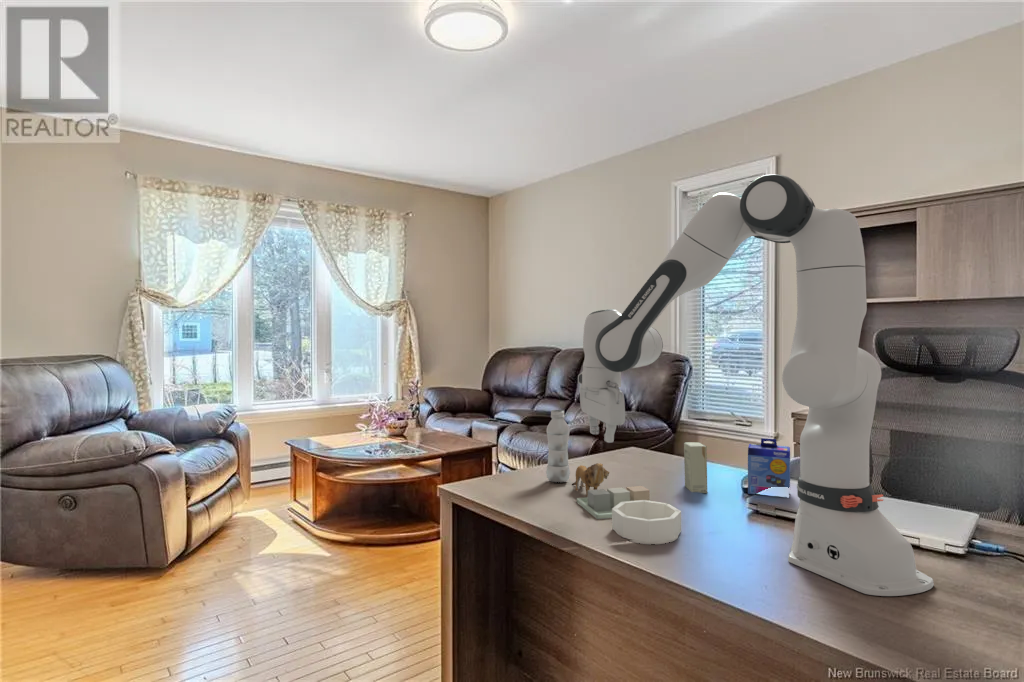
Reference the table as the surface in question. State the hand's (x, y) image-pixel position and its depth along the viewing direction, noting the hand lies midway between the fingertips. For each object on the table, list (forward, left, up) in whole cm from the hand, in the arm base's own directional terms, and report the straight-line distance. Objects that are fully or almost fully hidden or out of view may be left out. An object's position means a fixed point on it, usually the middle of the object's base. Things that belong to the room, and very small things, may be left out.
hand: (601, 437), depth 133 cm
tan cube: (0, -9, -17) cm, 19 cm away
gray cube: (0, +1, -17) cm, 17 cm away
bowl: (-16, -3, -17) cm, 24 cm away
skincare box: (+9, -30, -17) cm, 36 cm away
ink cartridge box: (+1, -46, -17) cm, 49 cm away
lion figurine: (+13, -2, -17) cm, 22 cm away
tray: (0, -4, -17) cm, 18 cm away
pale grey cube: (0, -4, -17) cm, 17 cm away
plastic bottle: (+27, +2, -17) cm, 32 cm away
